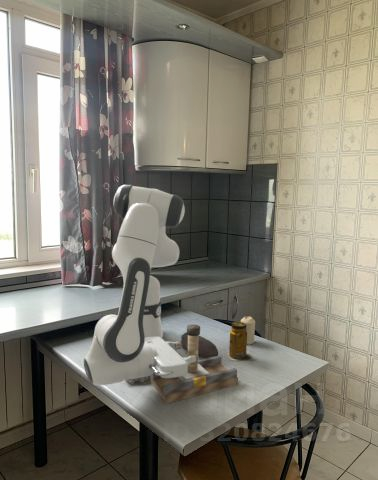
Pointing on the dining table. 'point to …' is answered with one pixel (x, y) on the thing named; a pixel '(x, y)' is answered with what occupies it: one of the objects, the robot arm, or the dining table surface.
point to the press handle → (193, 367)
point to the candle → (249, 329)
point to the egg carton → (136, 379)
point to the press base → (196, 381)
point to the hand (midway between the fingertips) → (187, 351)
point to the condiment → (238, 342)
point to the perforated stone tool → (201, 346)
